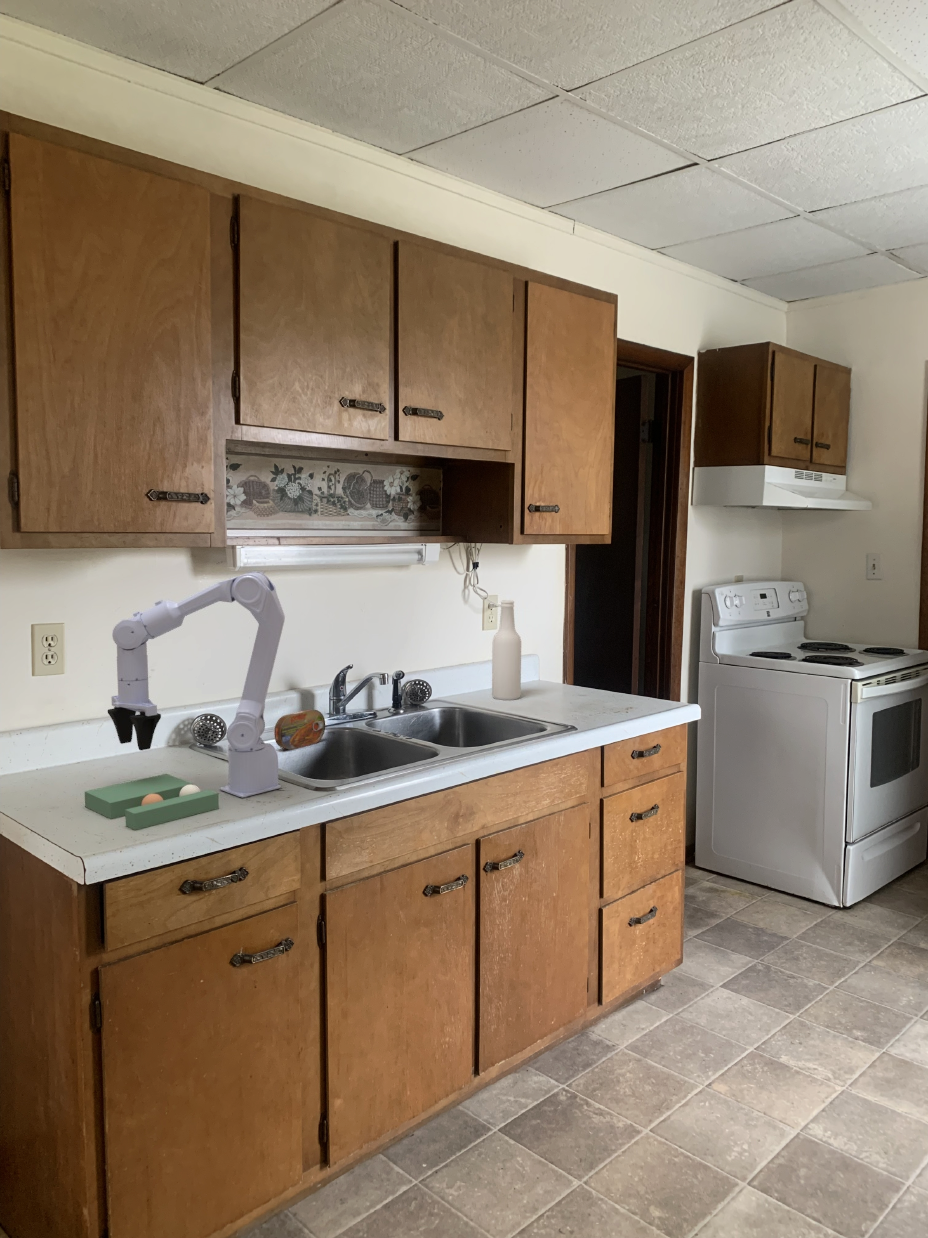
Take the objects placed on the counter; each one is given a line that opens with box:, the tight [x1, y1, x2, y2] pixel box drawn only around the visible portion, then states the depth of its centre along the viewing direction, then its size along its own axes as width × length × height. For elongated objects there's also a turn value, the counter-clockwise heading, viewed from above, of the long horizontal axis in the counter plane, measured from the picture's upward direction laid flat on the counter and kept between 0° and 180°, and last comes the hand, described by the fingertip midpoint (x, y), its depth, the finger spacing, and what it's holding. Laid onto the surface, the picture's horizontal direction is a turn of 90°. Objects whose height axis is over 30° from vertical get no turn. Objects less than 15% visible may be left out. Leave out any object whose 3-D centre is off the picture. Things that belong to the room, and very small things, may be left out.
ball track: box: [84, 773, 220, 831], centre depth 176 cm, size 17×19×3 cm
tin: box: [274, 709, 326, 751], centre depth 224 cm, size 15×3×8 cm, turn 144°
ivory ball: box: [179, 784, 201, 797], centre depth 177 cm, size 4×4×4 cm
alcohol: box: [491, 599, 522, 701], centre depth 284 cm, size 9×9×30 cm
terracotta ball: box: [141, 794, 164, 806], centre depth 172 cm, size 4×4×4 cm
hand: (135, 746), depth 185 cm, fingers open, 7 cm apart
